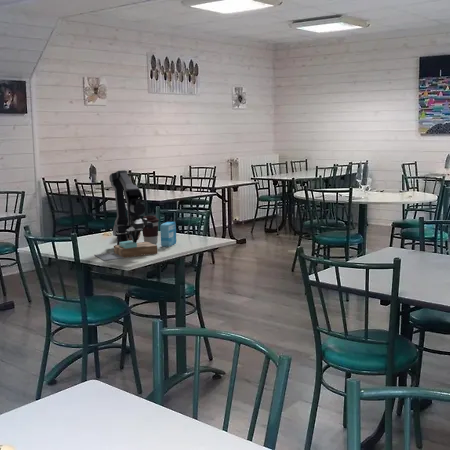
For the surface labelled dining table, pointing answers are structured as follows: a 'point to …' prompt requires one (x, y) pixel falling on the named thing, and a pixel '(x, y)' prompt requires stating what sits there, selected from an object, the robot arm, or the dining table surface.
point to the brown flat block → (136, 250)
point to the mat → (109, 256)
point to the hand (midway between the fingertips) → (135, 243)
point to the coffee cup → (151, 230)
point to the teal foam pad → (128, 244)
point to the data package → (168, 234)
